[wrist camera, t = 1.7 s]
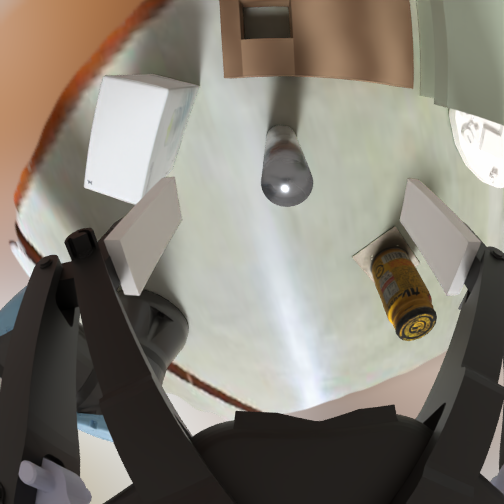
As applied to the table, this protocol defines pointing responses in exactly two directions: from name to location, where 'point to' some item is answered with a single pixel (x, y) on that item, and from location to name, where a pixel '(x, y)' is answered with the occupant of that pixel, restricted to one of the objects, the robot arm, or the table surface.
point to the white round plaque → (480, 146)
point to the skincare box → (136, 133)
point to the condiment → (399, 284)
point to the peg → (285, 168)
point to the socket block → (324, 41)
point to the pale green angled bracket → (463, 55)
